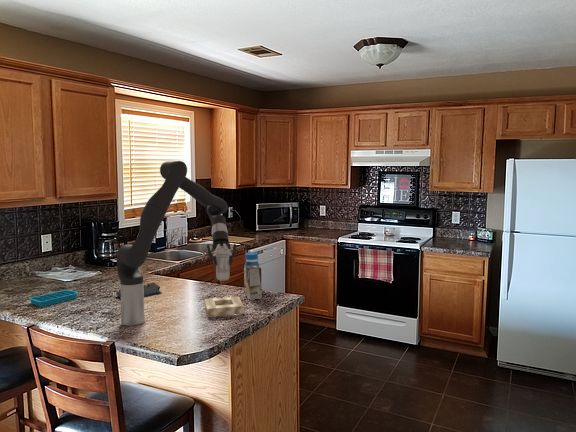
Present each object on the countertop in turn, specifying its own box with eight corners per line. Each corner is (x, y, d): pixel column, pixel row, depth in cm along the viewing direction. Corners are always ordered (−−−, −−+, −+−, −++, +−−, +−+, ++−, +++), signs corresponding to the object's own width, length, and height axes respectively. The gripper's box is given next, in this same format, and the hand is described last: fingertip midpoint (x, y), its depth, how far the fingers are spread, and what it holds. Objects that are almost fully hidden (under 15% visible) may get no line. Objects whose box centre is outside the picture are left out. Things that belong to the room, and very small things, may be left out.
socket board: (207, 317, 197) (207, 308, 197) (204, 307, 213) (204, 299, 212) (243, 314, 201) (243, 306, 201) (238, 304, 217) (238, 296, 216)
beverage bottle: (257, 292, 239) (257, 254, 237) (242, 291, 241) (241, 254, 239) (261, 288, 248) (261, 252, 246) (246, 287, 249) (246, 251, 247)
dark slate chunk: (112, 296, 234) (111, 287, 233) (151, 288, 249) (151, 280, 249) (125, 302, 223) (124, 293, 222) (165, 293, 238) (165, 285, 238)
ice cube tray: (80, 298, 230) (79, 292, 230) (40, 308, 213) (40, 302, 213) (67, 295, 236) (67, 289, 236) (27, 304, 220) (27, 298, 219)
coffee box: (262, 299, 225) (261, 268, 224) (249, 300, 223) (249, 269, 221) (256, 294, 234) (256, 264, 232) (245, 296, 232) (244, 265, 230)
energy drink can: (230, 277, 209) (229, 245, 207) (229, 280, 203) (228, 248, 201) (217, 277, 209) (216, 245, 207) (215, 281, 203) (214, 248, 201)
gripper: (204, 230, 209) (207, 260, 199) (235, 229, 212) (239, 258, 202) (204, 240, 215) (206, 269, 204) (234, 238, 218) (238, 268, 208)
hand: (223, 264), depth 203 cm, fingers closed on energy drink can, 6 cm apart
